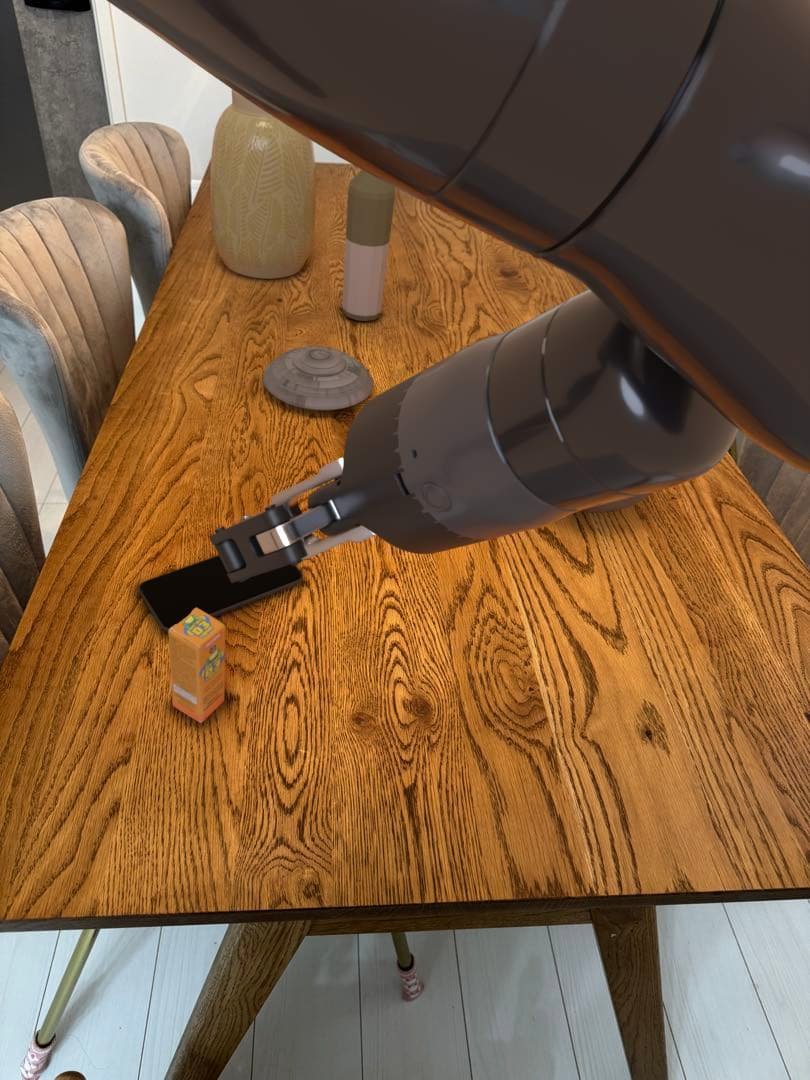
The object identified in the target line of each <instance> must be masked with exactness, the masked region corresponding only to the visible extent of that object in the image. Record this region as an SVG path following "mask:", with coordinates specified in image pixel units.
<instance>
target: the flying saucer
mask: <svg viewBox="0 0 810 1080" xmlns="http://www.w3.org/2000/svg"><path fill="white" fill-rule="evenodd" d="M262 383H263V385H264V387H265V389H266V390H267V391H268V393H270V394H271V395H272V396H274V397H275V398H276V399H278V400H280V401H282V402H283V403H286V404H287V405H291V406H293V407H296V408H300V409H306V410H312V411H336V410H342V409H346V408H350V407H353V406H355V405H358V404H360V403H361V402H363V401H365V400H366V399H367V398H368V397H369V396H370V394H372V391H373V389H374V381H373V378H372V375H371V373H370V372H369V371H368V369H367V368H366V367H365V366H364V364H363V363H361V362H360V361H359V360H358V359H357V358H356V357H354V356H352V355H350V354H349V353H346V352H344V351H342V350H339V349H335V348H332V347H327V346H319V345H318V346H317V345H309V346H302V347H297V348H293V349H290V350H287V351H284V352H283V353H281V354H279V355H278V356H276V357H275V358H274V359H272V361H271V362H269V364H268V365H267V366H266V367H265V369H264V371H263V373H262Z"/></svg>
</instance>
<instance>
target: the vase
mask: <svg viewBox="0 0 810 1080" xmlns="http://www.w3.org/2000/svg"><path fill="white" fill-rule="evenodd" d="M316 171H317V170H316V158H315V150H314V143H313V141H312V140H310V139H308V138H307V137H305V136H303V135H302V134H300V133H298V132H297V131H295V130H294V129H292V128H290V127H289V126H287V125H286V124H284V123H283V122H281V121H279V120H278V119H276V118H275V117H273V116H272V115H270V114H268V113H267V112H265V111H264V110H262V109H261V108H259V107H258V106H256V105H255V104H253V103H252V102H250V101H249V100H247V99H246V98H245V97H243V96H242V95H240V94H239V93H237V92H236V91H234V90H233V89H231V104H229V105H228V106H227V107H226V108H225V109H224V110H223V111H222V113H221V114H220V116H219V118H218V120H217V122H216V125H215V128H214V132H213V139H212V146H211V157H210V181H209V183H210V184H209V185H210V192H209V194H210V196H209V197H210V198H209V199H210V200H209V201H210V221H211V232H212V233H211V234H212V239H213V244H214V246H215V249H216V250H217V252H218V255H219V257H220V259H221V260H222V262H223V263H224V265H225V266H226V267H227V268H228V269H229V270H231V271H233V272H234V273H237V274H239V275H242V276H245V277H249V278H255V279H262V280H273V279H274V280H277V279H283V278H287V277H291V276H293V275H296V274H297V273H299V272H300V271H301V270H302V269H303V267H304V265H305V264H306V262H307V261H308V258H309V257H310V254H311V252H312V250H313V246H314V240H315V231H316V229H315V228H316V217H317V216H316V215H317V175H316V174H317V173H316Z"/></svg>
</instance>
